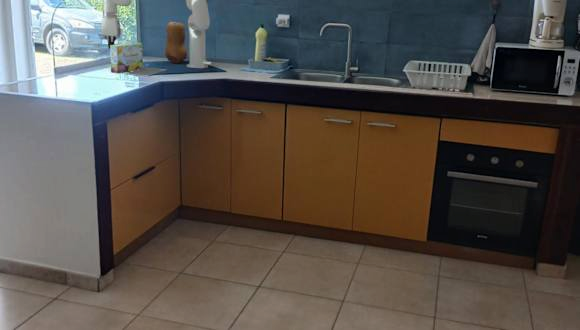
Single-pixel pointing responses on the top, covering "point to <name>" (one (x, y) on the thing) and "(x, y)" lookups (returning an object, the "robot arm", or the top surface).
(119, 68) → the snack box
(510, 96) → the top surface
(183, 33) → the butternut squash
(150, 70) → the mat
